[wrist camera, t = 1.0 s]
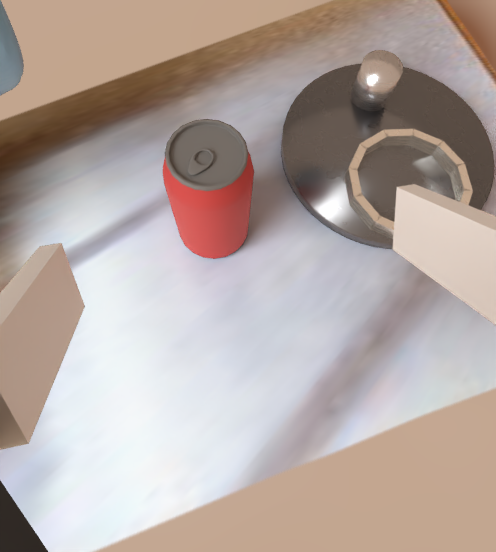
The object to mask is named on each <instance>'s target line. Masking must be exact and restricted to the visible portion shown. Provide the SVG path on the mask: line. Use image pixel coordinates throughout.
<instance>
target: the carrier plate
mask: <svg viewBox="0 0 496 552" xmlns="http://www.w3.org/2000/svg"><path fill="white" fill-rule="evenodd" d="M281 157H282V162H283V167H284V171H285V174H286V176H287V179H288V182H289V184H290V185H291V187H292V189H293V191H294V193H295V194H296V196H297V197H298V199H299V200H300V202H301V203H302V204H303V205H304V206H305V207H306V209H307V210H308V211H309V212H310V213H311V214H312V215H313V216H314V217H316V218H317V219H318V220H319V221H320V222H321V223H323V224H324V225H326V226H327V227H329V228H330V229H331V230H333V231H335V232H336V233H338V234H340V235H342V236H344V237H346V238H348V239H351V240H354V241H356V242H359V243H361V244H365V245H369V246H373V247H379V248H386V249H393V236H394V221H395V205H396V190H397V187H400V186H406V185H412V184H416V185H418V186H421V187H423V188H426V189H428V190H431V191H433V192H436V193H438V194H441V195H443V196H446V197H448V198H451V199H453V200H456V201H458V202H461V203H464V204H466V205H469V206H471V207H474V208H476V209H479V210H481V208H482V207H483V205H484V203H485V202H486V200H487V198H488V195H489V193H490V190H491V187H492V182H493V178H494V158H493V151H492V147H491V143H490V140H489V138H488V135H487V133H486V130H485V129H484V127H483V125H482V123H481V121H480V120H479V118H478V117H477V116H476V114H475V113H474V111H473V110H472V109H471V108H470V107H469V106H468V105H467V103H466V102H465V101H464V100H463V99H462V98H460V97H459V96H458V95H457V94H456V93H455V92H454V91H452V90H451V89H449V88H448V87H447V86H445V85H444V84H442V83H440V82H439V81H437V80H435V79H433V78H432V77H429V76H427V75H425V74H423V73H421V72H418V71H415V70H412V69H409V68H405V67H403V65H402V62H401V61H400V59H399V58H398V57H397V56H396V55H394V54H392V53H390V52H388V51H383V50H377V51H373V52H370V53H369V54H367V55H366V56H365V58H364V60H363V62H362V64H355V65H350V66H345V67H342V68H339V69H335V70H333V71H331V72H328V73H326V74H324V75H322V76H321V77H319V78H317V79H316V80H314V81H313V82H312V83H310V84H309V85H308V86H307V87H305V88H304V90H303V91H302V92H301V93H300V94H299V95H298V96H297V98H296V99H295V101H294V102H293V104H292V105H291V107H290V110H289V112H288V114H287V117H286V120H285V124H284V128H283V133H282V141H281Z"/></svg>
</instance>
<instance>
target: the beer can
mask: <svg viewBox="0 0 496 552" xmlns="http://www.w3.org/2000/svg"><path fill="white" fill-rule="evenodd" d="M253 176H254V169H253V165H252V161H251V157H250V154H249V152H248V149H247V145H246V142H245V140H244V139H243V137H242V136H241V134H240V133H239V132H238V131H237V130H236V129H234V128H233V127H232V126H231V125H228V124H226V123H224V122H221V121H218V120H210V119H203V120H196V121H192V122H190V123H187V124H185V125H183V126H181V127H180V128H179V129H178V130H176V131H175V132H174V133H173V134H172V136H171V138H170V139H169V141H168V142H167V146H166V151H165V160H164V165H163V178H164V184H165V188H166V191H167V194H168V198H169V201H170V204H171V207H172V211H173V214H174V217H175V220H176V224H177V227H178V230H179V234H180V237H181V239H182V240H183V242H184V244H185V246H186V247H187V248H189V249H190V250H191V251H192V252H193V253H195V254H197V255H199V256H202V257H205V258H213V259H215V258H221V257H226V256H228V255H230V254H232V253H234V252H235V251H236V250H237V249H238V248H239V247H240V246H241V245H242V244H243V243H244V241H245V239H246V237H247V232H248V224H249V214H250V205H251V195H252V185H253Z"/></svg>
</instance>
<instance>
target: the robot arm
mask: <svg viewBox="0 0 496 552" xmlns="http://www.w3.org/2000/svg"><path fill="white" fill-rule="evenodd" d="M23 67H24V65H23V58H22V54H21V50H20V47H19V44H18V41H17V38H16V36H15V33H14V30H13V28H12V25H11V23H10V20H9V19H8V16H7V14H6V11H5V9H4V7H3V5H2V2H1V0H0V95H2V94H4V93H6V92H8V91H10V90H12V89H13V88H14V87H16V86H17V84H18V83H19V82H20V79H21V76H22V74H23ZM393 250H394V251H395V252H397V253H398V254H399V255H401V256H402V257H403V258H405V259H406V260H407V261H409V262H410V263H411V264H413V265H414V266H416V267H417V268H418V269H420V270H421V271H422V272H424V273H425V274H426V275H428V276H429V277H431V278H432V279H433V280H435V281H436V282H437V283H439V284H440V285H441V286H443V287H444V288H446V289H447V290H448V291H450V292H451V293H452V294H454V295H455V296H456V297H458V298H459V299H460V300H462V301H463V302H465V303H466V304H467V305H469V306H470V307H471V308H473V309H474V310H475V311H477V312H478V313H480V314H481V315H482V316H484V317H485V318H486V319H488V320H489V321H490V322H492V323H493V324H494V325H496V216H494V215H491V214H489V213H486V212H484V211H481V210H479V209H476V208H474V207H471V206H469V205H466V204H464V203H461V202H458V201H456V200H453V199H451V198H448V197H446V196H443V195H441V194H438V193H436V192H433V191H431V190H428V189H426V188H423V187H421V186H418V185H416V184H412V185H406V186H400V187H397V190H396V205H395V221H394V236H393ZM84 307H85V306H84V303H83V300H82V298H81V295H80V292H79V290H78V287H77V284H76V281H75V279H74V276H73V273H72V271H71V268H70V265H69V262H68V260H67V257H66V254H65V252H64V249H63V246H62V244H61V243H58V244H52V245H46V246H40V247H39V248H38V249H37V250H36V252H35V253H34V254H33V255H32V256H31V257H30V259H29V260H28V261H27V262H26V263H25V264H24V266H23V267H22V268H21V269H20V270H19V272H18V273H17V274H16V275H15V276H14V277H13V279H12V280H11V281H10V282H9V283H8V284H7V286H6V287H5V288H4V289H3V290H2V291H1V293H0V450H1V449H6V448H10V447H15V446H20V445H24V444H29V441H30V439H31V436H32V434H33V432H34V429H35V427H36V424H37V422H38V419H39V417H40V414H41V412H42V410H43V407H44V405H45V402H46V400H47V397H48V395H49V392H50V390H51V388H52V385H53V383H54V380H55V378H56V375H57V373H58V371H59V368H60V366H61V363H62V361H63V358H64V356H65V353H66V351H67V349H68V346H69V344H70V341H71V339H72V336H73V334H74V331H75V329H76V327H77V324H78V322H79V319H80V317H81V314H82V312H83V309H84ZM0 552H48V551H47V549H46V548H45V546H44V545H43V543H42V542H41V540H40V539H39V537H38V536H37V534H36V533H35V531H34V530H33V528H32V527H31V525H30V524H29V523H28V521H27V520H26V518H25V517H24V515H23V514H22V512H21V511H20V509H19V508H18V506H17V505H16V503H15V502H14V500H13V499H12V497H11V496H10V494H9V493H8V491H7V490H6V488H5V487H4V485H3V484H2V482H1V481H0Z"/></svg>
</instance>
